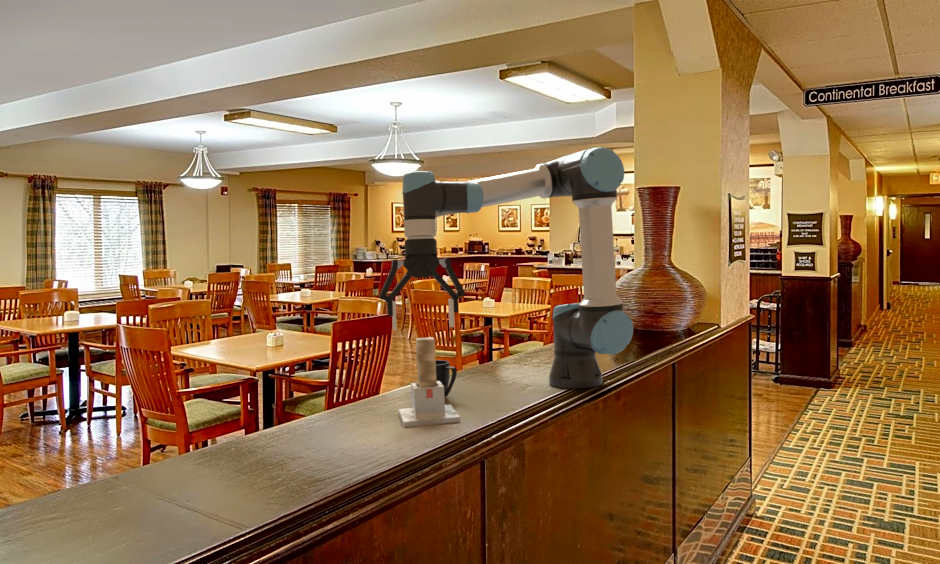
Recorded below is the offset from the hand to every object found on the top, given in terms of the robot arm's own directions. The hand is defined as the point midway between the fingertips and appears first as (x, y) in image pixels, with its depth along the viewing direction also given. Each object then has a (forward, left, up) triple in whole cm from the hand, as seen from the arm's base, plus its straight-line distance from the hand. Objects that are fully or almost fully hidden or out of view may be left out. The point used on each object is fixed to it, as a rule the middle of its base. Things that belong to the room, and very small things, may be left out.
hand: (423, 328), depth 160 cm
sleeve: (0, 0, -22) cm, 22 cm away
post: (0, 0, -22) cm, 22 cm away
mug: (-6, -20, -22) cm, 30 cm away
